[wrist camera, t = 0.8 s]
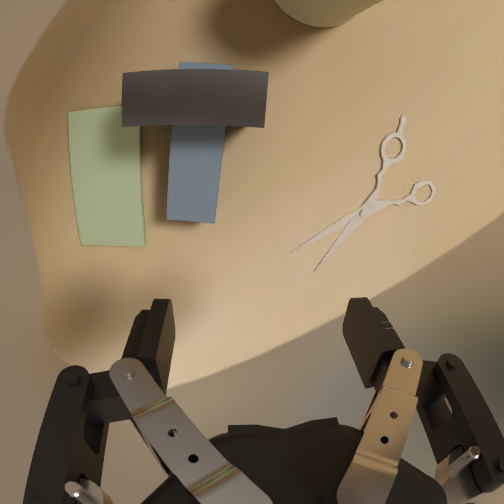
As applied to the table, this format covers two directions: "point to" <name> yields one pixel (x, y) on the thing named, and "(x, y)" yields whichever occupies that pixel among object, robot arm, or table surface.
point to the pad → (106, 178)
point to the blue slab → (195, 166)
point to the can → (324, 10)
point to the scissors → (372, 198)
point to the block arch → (194, 97)
